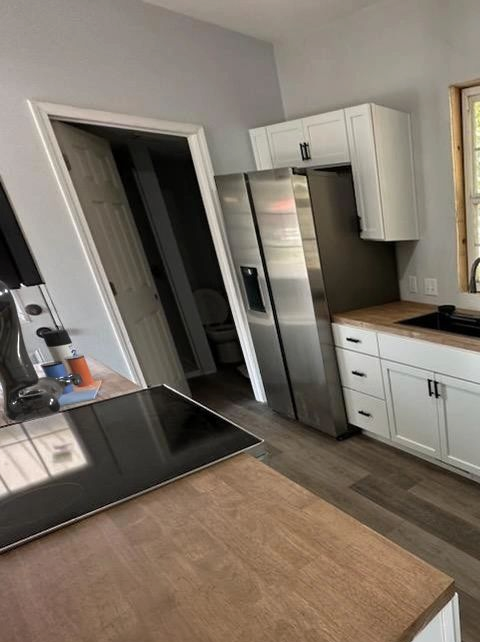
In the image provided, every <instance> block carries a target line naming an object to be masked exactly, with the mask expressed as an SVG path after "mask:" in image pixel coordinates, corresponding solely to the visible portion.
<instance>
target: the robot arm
mask: <svg viewBox="0 0 480 642" xmlns="http://www.w3.org/2000/svg"><path fill="white" fill-rule="evenodd" d="M21 325H22V324H21V321H20V318H19V313H18V309H17V304H16V301H15V299H14V295H13V293H12V291H11V289H10V288H9V286H8V285H7V284H6V283H5V282H3V281H2V280H0V384H1V385H0V386H1V388H2V393H3V413H4V415H5V416H6V418H7V419H9V420H10V421H11V422H15V423H23V422H28V421H32V420H37V419H42V418H47V417H51V416H54V415H56V414H58V413H59V412H60V411H61V406H60V403H59V401H58V400H59V398H60V397H61V396H62V394H63V392H64V390H65V387H67V386H70V384H72V385H75V386H77V385H80V383H81V382H82V381H83V380H82V378H81V376H80V374H76V375H75V374H73V373H69V375H68V376H61V377H58V378H53V377H46V376H42V377H39V375H38V373H37V371H36V368H35V366H34V364H33V362H32V360H31V358H30V356H29V352H28V350H27V347H26V343H25V339H24V335H23V329H22V326H21ZM68 378H69V379H70V381H69V380H68ZM60 379H62V380H60Z"/></svg>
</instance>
